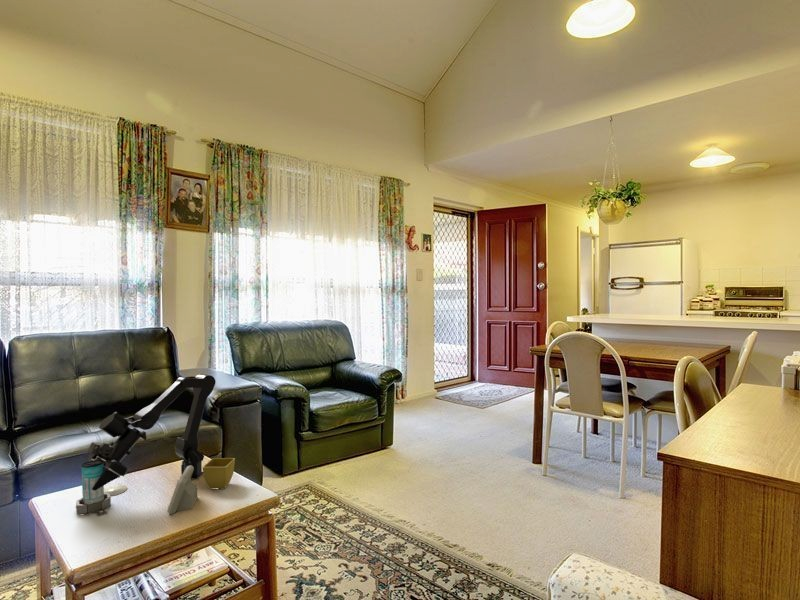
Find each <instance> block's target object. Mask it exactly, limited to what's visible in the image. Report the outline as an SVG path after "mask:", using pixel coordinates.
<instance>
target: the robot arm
mask: <svg viewBox="0 0 800 600" xmlns="http://www.w3.org/2000/svg"><path fill="white" fill-rule="evenodd" d="M216 382H217V381H216V379H215V377H214V375H211V374H205V373H199V374H197V375H195V376H179V377H178V378H177V379H176V381H174V383H173V384H171V385H170V386H169V387H168V388H167V389H166V390H165V391H164V392H163V393H162V394H161V395H160V396H159V397H158V398H156V399H155V400H154V401H153V402H152V403H150V404H149V405H147V406H145V407H143V408H142V409H140V410H139V411H137V412H136V413H135V414H134V415H132V416H129V417H126V418H124V417H123V416H122V415H121V413H118V412H117V411H114V412H113V413H112V414H109V415H108V416H107V417H105V418H104V419H102V421H101V422H100V423H99V427H98V428H99V430H101V431H102V432H104V433H106V434H107V435H109V436H111V438H116V437H117V438H116V440H115V441H110V442H109V443H108V442H107V443H106V442H102V443H101V442H95V441H92V442H91V443H90V445H89V447H88V450H87V452H88V453H90V454H89V455H88V457H89V458H88V462H89V461H94V460H102V461H103V473H102V474H101V476H100V477H99V479H98V480H97V482H96V483H95V485H94V486H93V488H92V490H94V491H95V490H97V489H99V488H100V487H102V486H104V487H105V486H106V484H109V483H110V482H112V481H115V480H116V479H119V478H121V477H125V475H126V474H127V473H128V467H127V466H125V465H124V464H123V463H122V461H123V459H124V458H125V457H126V456H130V454H131V453H132V452H130V451H131V450H132V449H133V447H134V446H135V445H136V443H137V442H138V441H139V440H140V439H141V440H143V441H146V440H147V432H146V431H147V430H148V431H149V430H150V429H152V428H153V427H154V426H155V425H156V423H157V422H158V421H159V419H160V418H161V415H162V413H163V412H164V411H165V410H166V409H167V408H168V407H169V406H170V405H171V404H172V403H173V402H174V401H175V400H176V399H177V398H178V397H179V396H180V395H181V394H182V393H183V392H184V391H185V390H187V389H188V388H189V389H190V388H191V389H192V392H193V399H192V403H191V407H190V409H189V410H190V411H189V414H188V418H187V422H186V425H185V428H184V429H185V430H184V432H183V434H182V435H181V437H179V436H177V437H176V442H175V444H174V446H173V448H174V452H175V454H176V456H178V457H179V459H180V460H182V461H181V465H180V470H181V471H180V472H181V473H180V476H182V474H183V472H184V471H185V469H186V467H187V466H190V465H191V466H193V467H194V470H193V473H192V476H191V480H197V479H198V478H199V477H201V476H203V475H204V473H203V466H202V462H203V461H204V458H205V454H204V453H202V452H200V451H199V438H198V435H199V434H198V433H199V430H200V425H201V422H202V419H203V414H204V412H205V406H206V403H207V401H208V398H209V396H210V395H211V394H212V393H213V390H214V389H215V385H216ZM129 426H130V427H129ZM131 427H132V428H131ZM139 429H140V430H139ZM141 430H142V431H141ZM200 475H201V476H200Z"/></svg>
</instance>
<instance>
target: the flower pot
mask: <svg viewBox="0 0 800 600" xmlns="http://www.w3.org/2000/svg"><path fill="white" fill-rule="evenodd" d="M235 460H236V458H235V457H224V458H223V457H220V458H219V457H213V458H211V459H209V460H208V462H207V463H205V464H204V465H203V466H202V472H203V473H204V474H203V478H204V482H205V484H206V486H207V487H208V489H210V488H224V489H225V488H226V487H227V486H228V485H229V483H230V482H231V481H232V478H233V475H234V470H235V465H236V464H235V463H236V461H235Z"/></svg>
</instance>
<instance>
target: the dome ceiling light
mask: <svg viewBox="0 0 800 600" xmlns="http://www.w3.org/2000/svg"><path fill="white" fill-rule="evenodd" d="M127 489H128V486H127V484H123V483H121V484H120V483H119V484H117V483H115V484H112V485H108V486H104V493H110V497H113V496H117V495H119V494H122V493H124V492H126V490H127Z"/></svg>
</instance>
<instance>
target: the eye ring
mask: <svg viewBox="0 0 800 600" xmlns="http://www.w3.org/2000/svg"><path fill="white" fill-rule="evenodd" d="M111 497H112V496H110V493H104V500H103V501H101V502H98V503H93V504H89V505H85V504H83V497H81V498H79V499H77V500H76V501H75V504H76V506H75V507H76V508H75V510H76V515H77V514H84V515H83V516H89V514H90V515H93V514H95V515H96V516H98V517H100V516H103V515H106V514H108V511H106V510H107V509H108V508H110V507H111V506H112V505H111V504H112V503H111V500H112V499H111Z"/></svg>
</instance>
